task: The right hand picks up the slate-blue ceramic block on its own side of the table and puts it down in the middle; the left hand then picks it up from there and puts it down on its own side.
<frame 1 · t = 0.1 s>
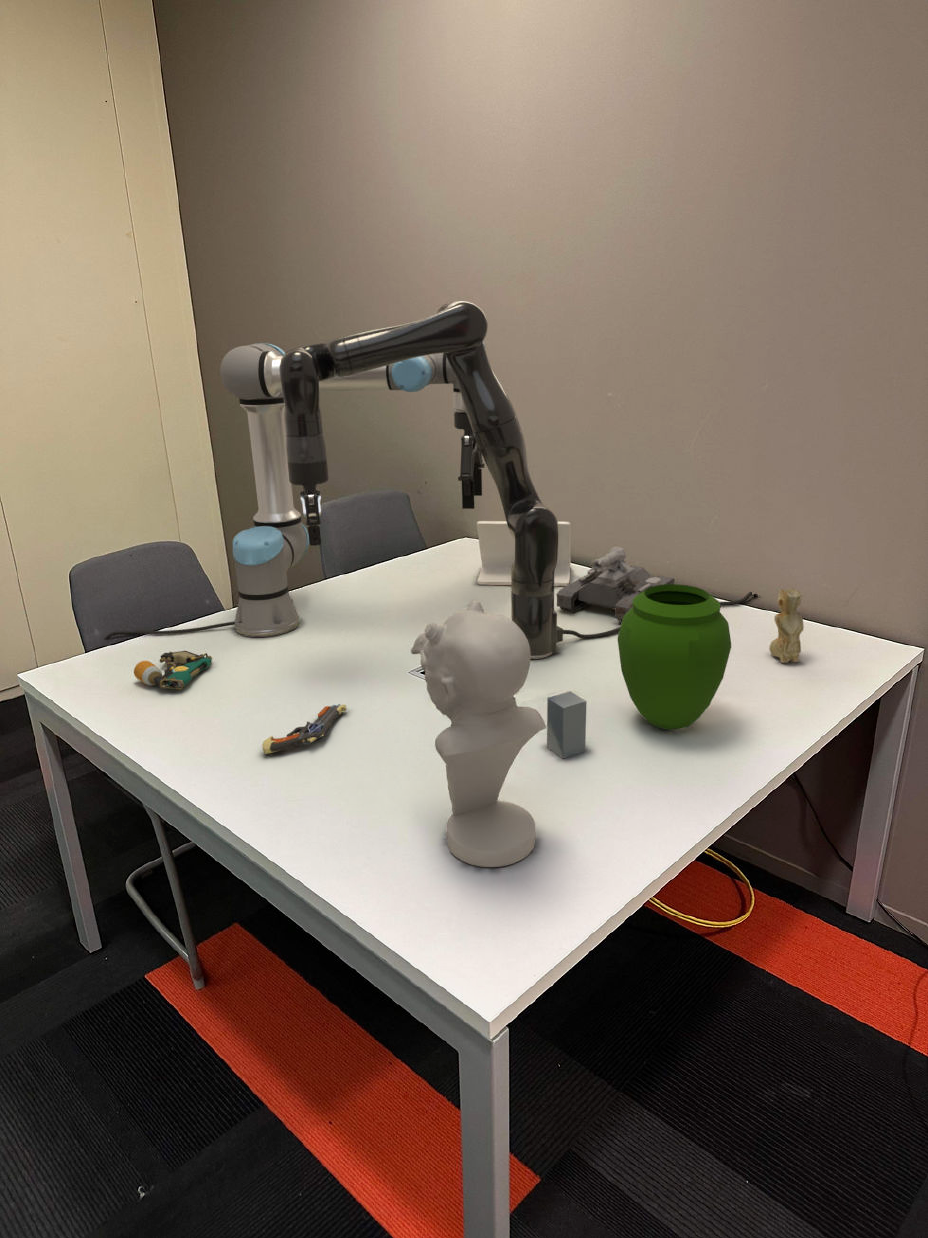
left hand: (472, 501, 202), 28 cm above the table, tool pointing down, fingers open, 13 cm apart
right hand: (314, 539, 170), 29 cm above the table, tool pointing down, fingers open, 8 cm apart
toy gun: (306, 733, 155), on the table
bust sculpture: (470, 832, 125), on the table
block: (566, 749, 147), on the table
tablet stand: (525, 575, 239), on the table
sculpture: (784, 659, 180), on the table
spray gun: (177, 676, 181), on the table
toy: (615, 605, 214), on the table
vase: (668, 721, 156), on the table
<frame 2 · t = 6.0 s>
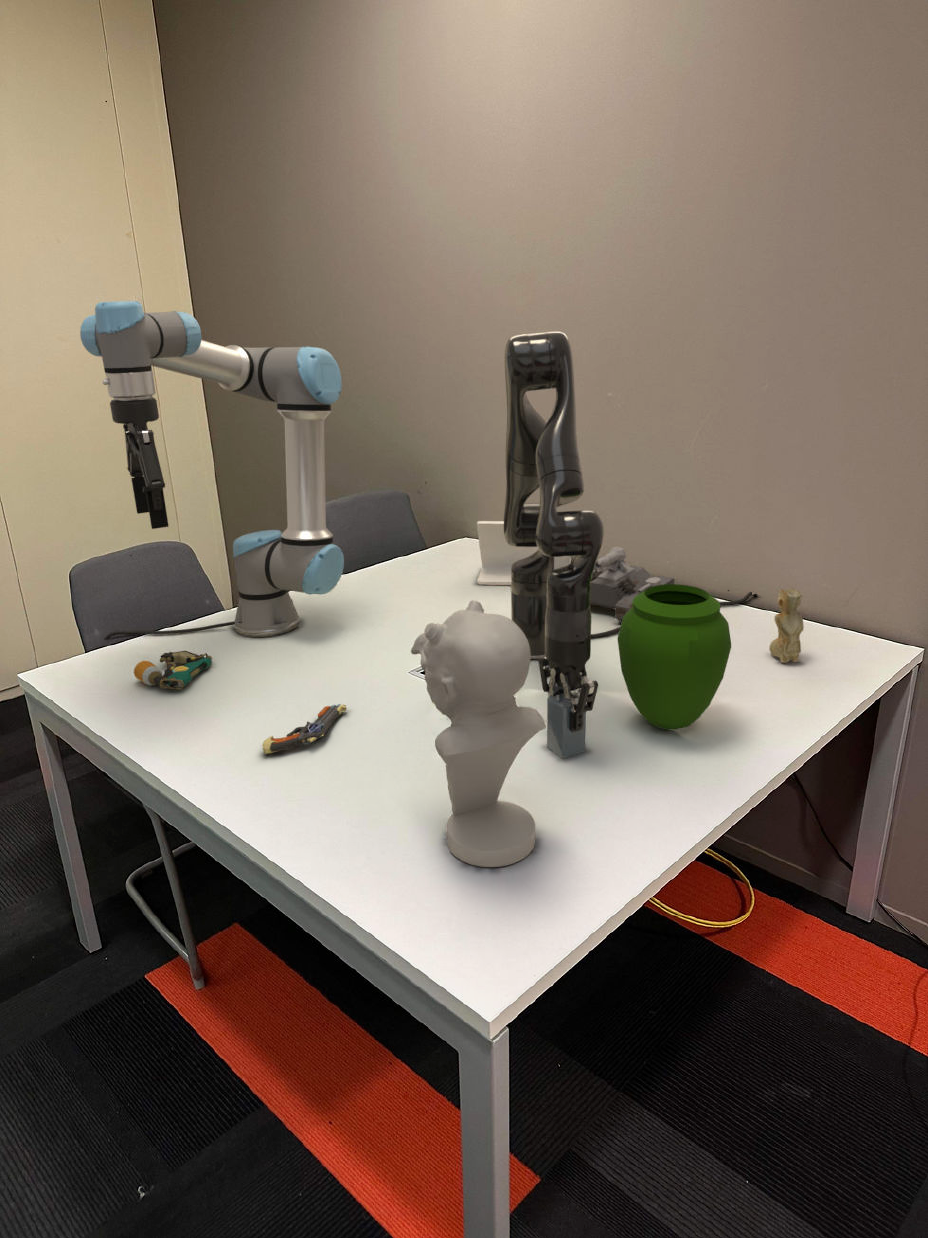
left hand: (152, 519, 153), 38 cm above the table, tool pointing down, fingers open, 13 cm apart
right hand: (566, 723, 145), 5 cm above the table, tool pointing down, fingers closed on block, 4 cm apart
block: (566, 749, 147), on the table, touching right hand
everything else where it was.
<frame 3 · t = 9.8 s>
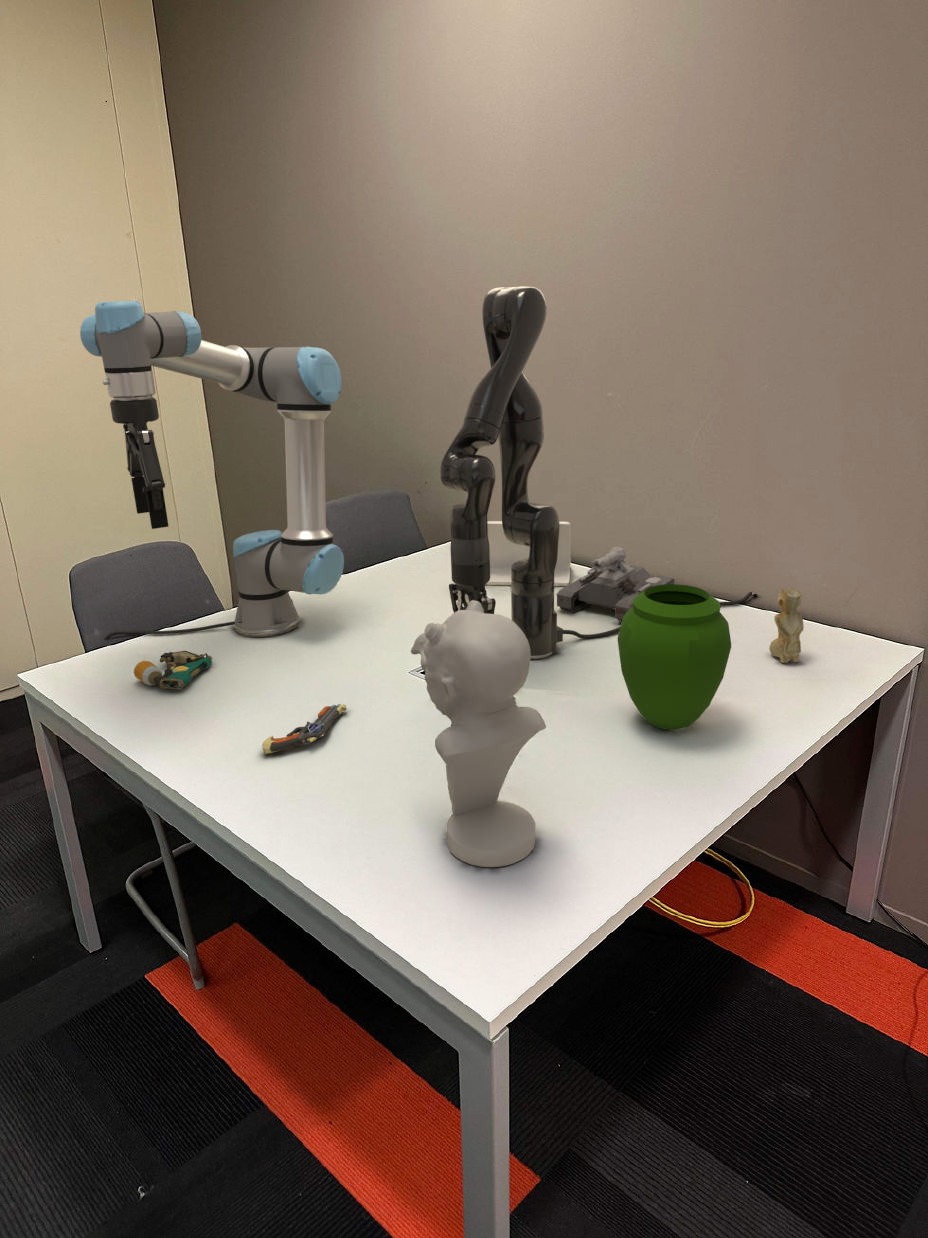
left hand: (152, 519, 153), 38 cm above the table, tool pointing down, fingers open, 13 cm apart
right hand: (473, 639, 171), 10 cm above the table, tool pointing down, fingers closed on block, 4 cm apart
block: (473, 661, 172), point 5 cm above the table, touching right hand
everything else where it was.
when the right hand's fingers open (7 cm above the table, at t = 13.6 s): block drops 2 cm, on the table.
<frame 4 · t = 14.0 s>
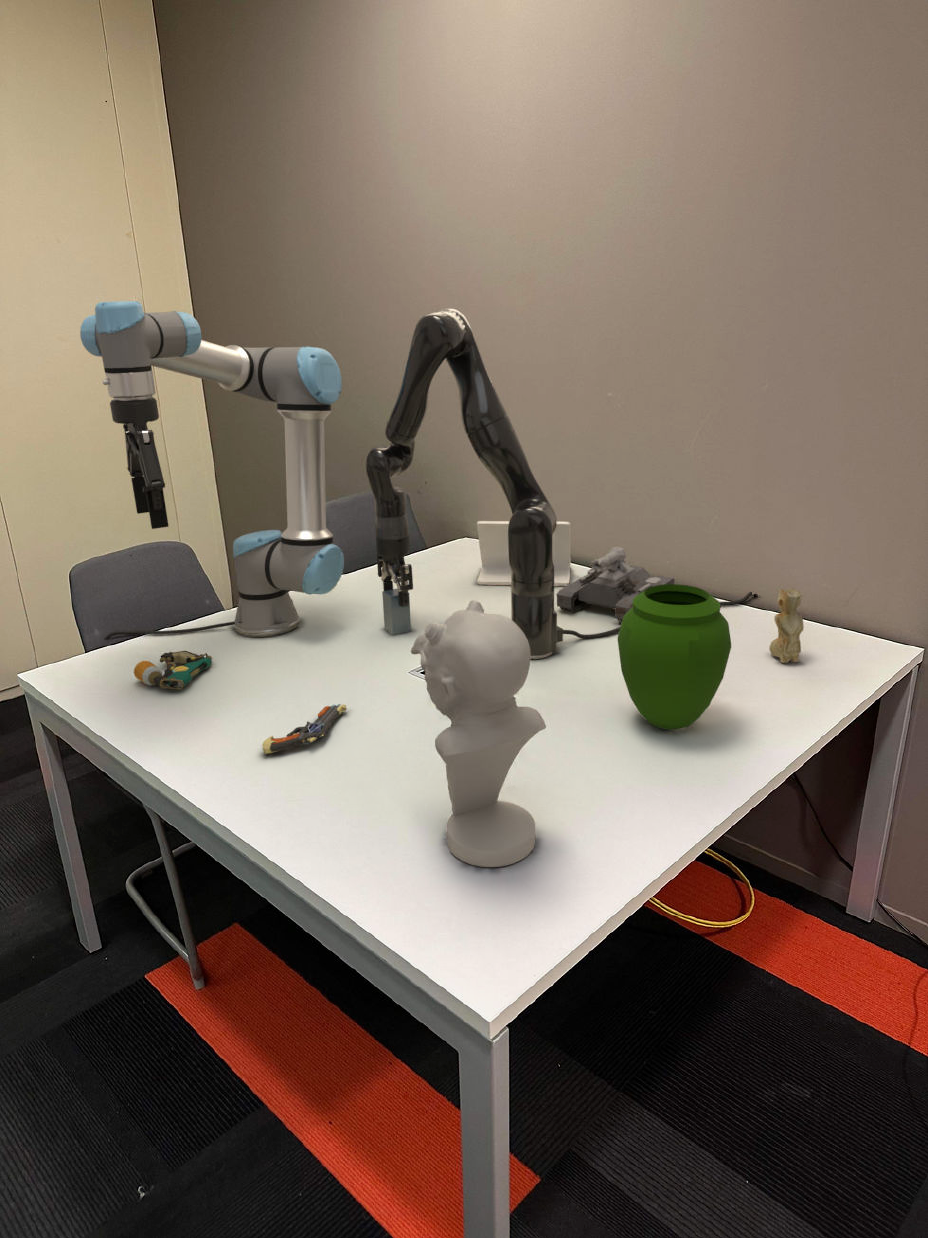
left hand: (152, 519, 153), 38 cm above the table, tool pointing down, fingers open, 13 cm apart
right hand: (396, 601, 200), 7 cm above the table, tool pointing down, fingers open, 8 cm apart
block: (397, 630, 202), on the table
everything else where it was.
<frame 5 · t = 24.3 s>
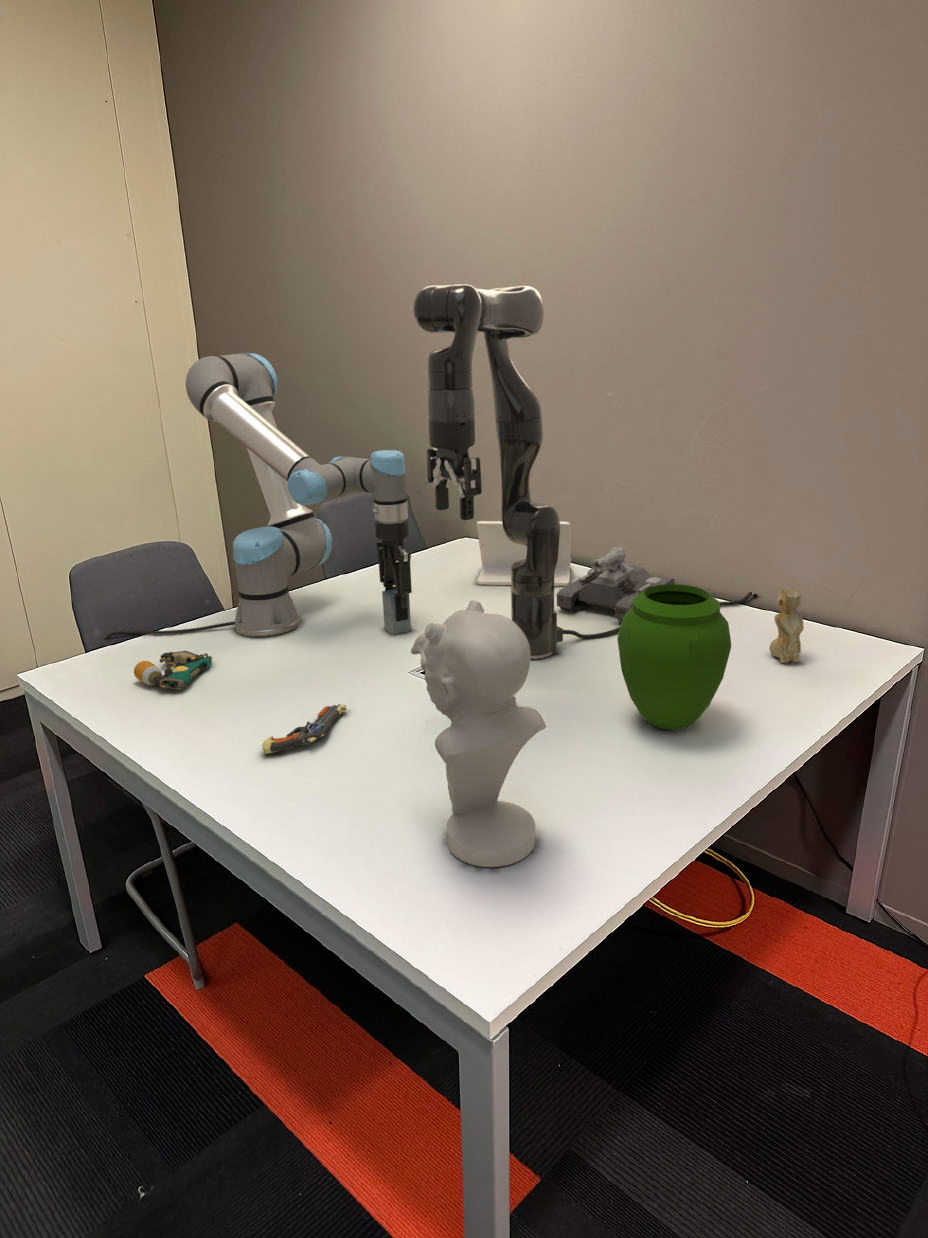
left hand: (397, 616, 201), 3 cm above the table, tool pointing down, fingers closed on block, 5 cm apart
right hand: (454, 514, 144), 39 cm above the table, tool pointing down, fingers open, 8 cm apart
block: (397, 630, 202), on the table, touching left hand
everything else where it was.
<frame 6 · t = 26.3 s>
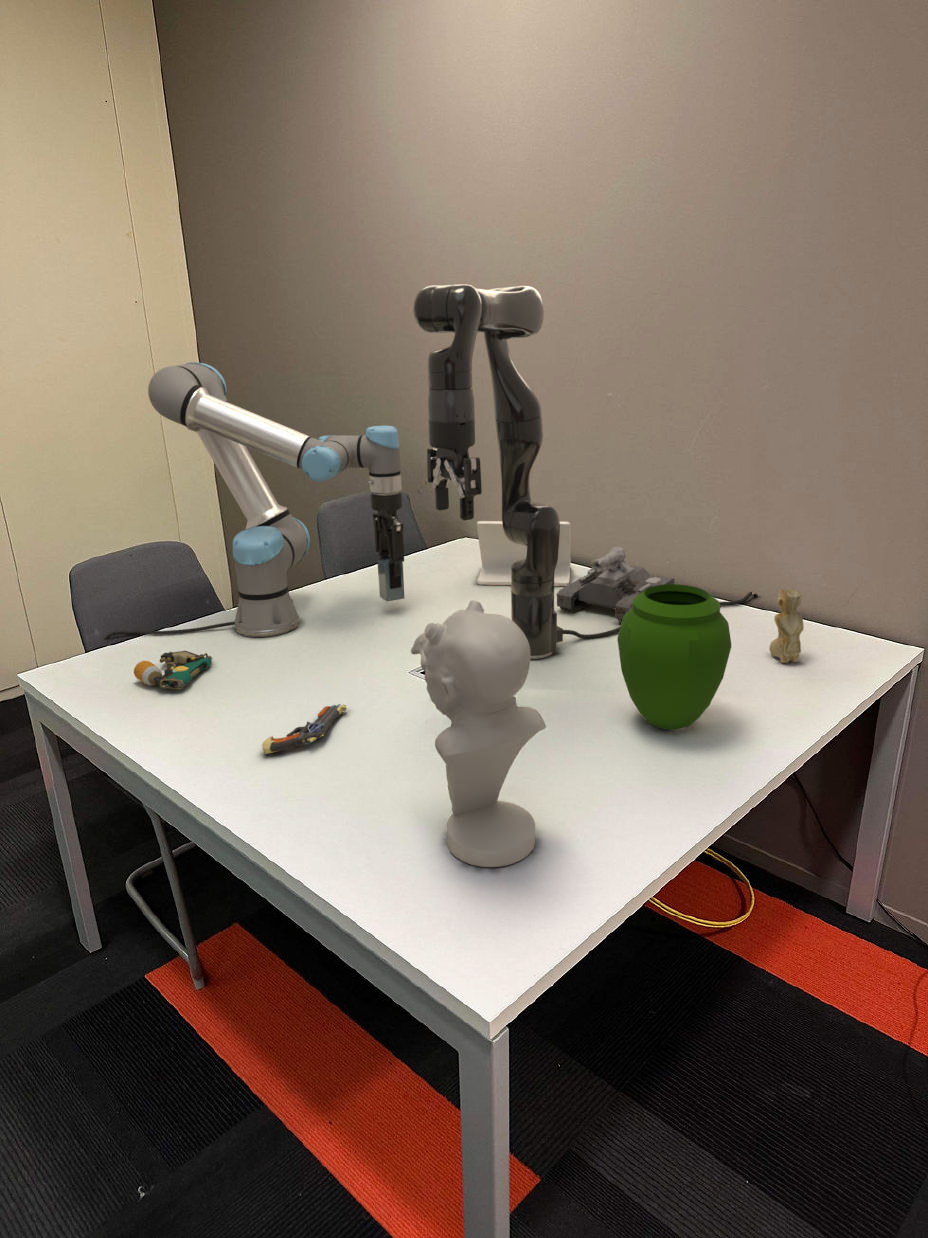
left hand: (391, 584, 212), 7 cm above the table, tool pointing down, fingers closed on block, 5 cm apart
right hand: (454, 514, 144), 39 cm above the table, tool pointing down, fingers open, 8 cm apart
block: (392, 597, 213), point 4 cm above the table, touching left hand
everything else where it was.
when the left hand's fingers open (5 cm above the table, at t = 28.6 s): block drops 2 cm, on the table.
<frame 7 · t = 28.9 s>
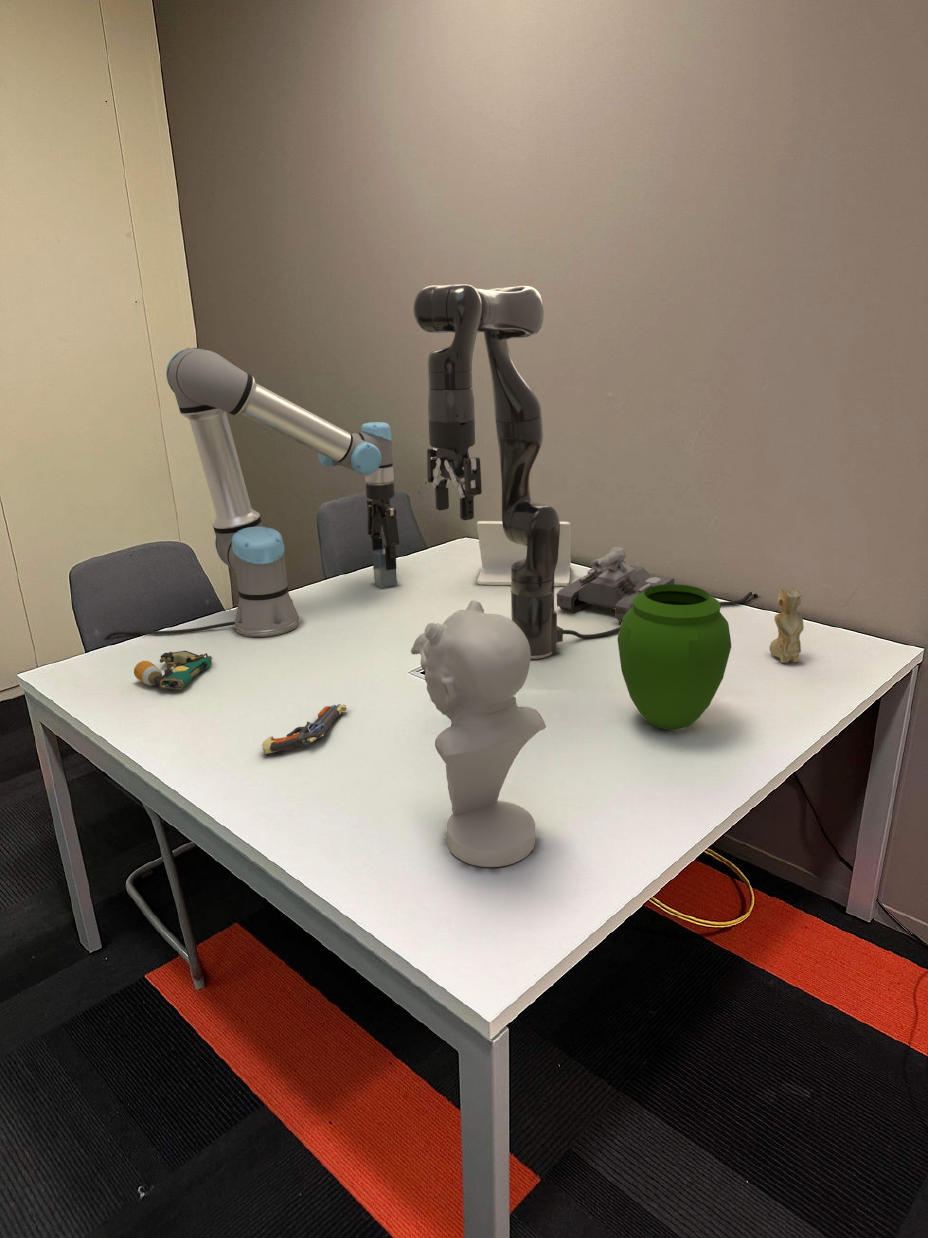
left hand: (384, 565, 233), 6 cm above the table, tool pointing down, fingers open, 8 cm apart
right hand: (454, 514, 144), 39 cm above the table, tool pointing down, fingers open, 8 cm apart
block: (385, 584, 235), on the table
everything else where it was.
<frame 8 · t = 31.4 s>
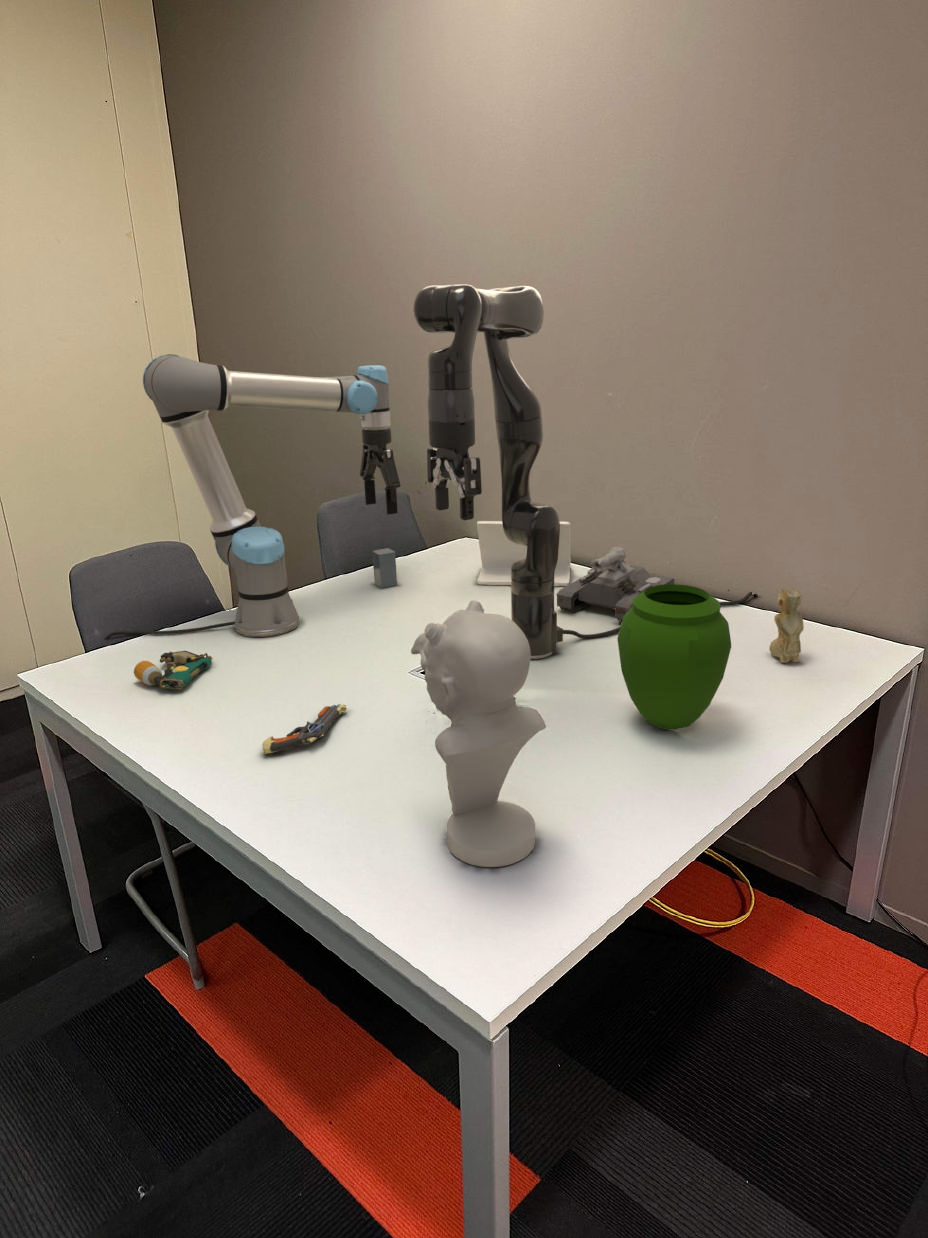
left hand: (381, 508, 227), 21 cm above the table, tool pointing down, fingers open, 13 cm apart
right hand: (454, 514, 144), 39 cm above the table, tool pointing down, fingers open, 8 cm apart
nothing on the table moved.
at the end: block inside the target area (0.1 cm from its centre), on the table; block tilted 0°; the two hands never held the block at the same time; the left hand is holding nothing; the right hand is holding nothing; block at rest at the end (0.0 cm/s) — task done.
